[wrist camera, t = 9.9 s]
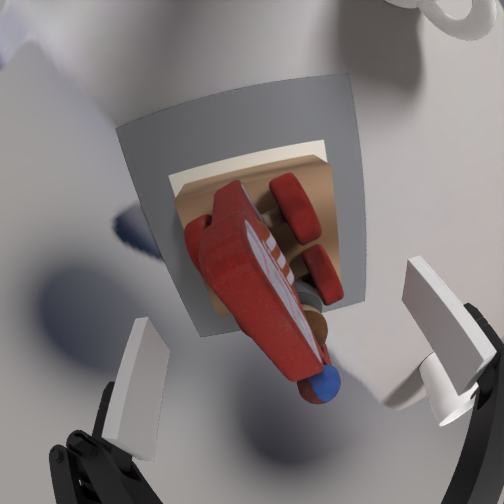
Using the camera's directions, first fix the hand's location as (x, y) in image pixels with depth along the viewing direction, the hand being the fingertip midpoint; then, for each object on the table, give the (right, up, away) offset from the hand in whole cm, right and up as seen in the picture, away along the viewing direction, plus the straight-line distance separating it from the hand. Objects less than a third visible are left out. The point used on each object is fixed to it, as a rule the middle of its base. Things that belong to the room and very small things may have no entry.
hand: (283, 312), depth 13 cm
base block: (-1, +5, +9) cm, 11 cm away
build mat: (-1, +5, +10) cm, 11 cm away
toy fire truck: (0, +3, +6) cm, 7 cm away
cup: (+31, -16, +24) cm, 42 cm away
